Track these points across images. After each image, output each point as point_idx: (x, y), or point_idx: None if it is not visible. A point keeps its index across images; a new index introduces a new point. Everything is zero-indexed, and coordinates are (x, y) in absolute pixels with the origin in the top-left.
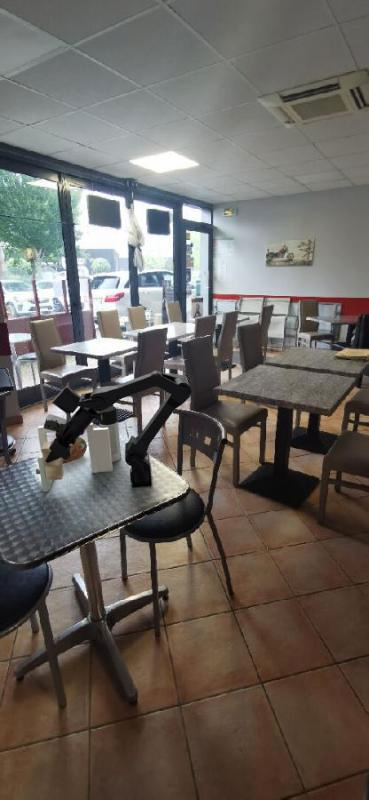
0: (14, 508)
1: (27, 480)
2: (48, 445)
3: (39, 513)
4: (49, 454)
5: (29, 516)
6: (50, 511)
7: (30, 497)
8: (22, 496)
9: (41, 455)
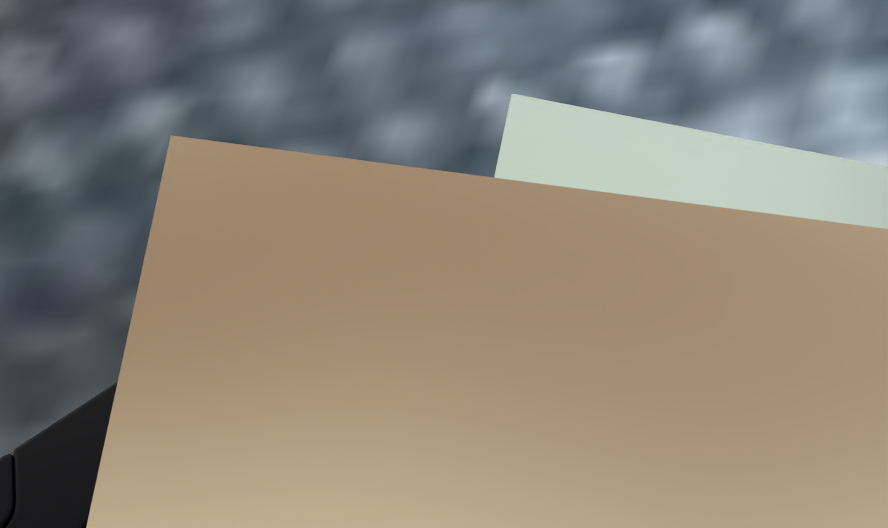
0: (269, 9)
1: (830, 73)
2: (463, 432)
3: (76, 253)
4: (17, 456)
5: (62, 162)
6: (67, 362)
7: (431, 139)
8: (480, 58)
9: (632, 182)
